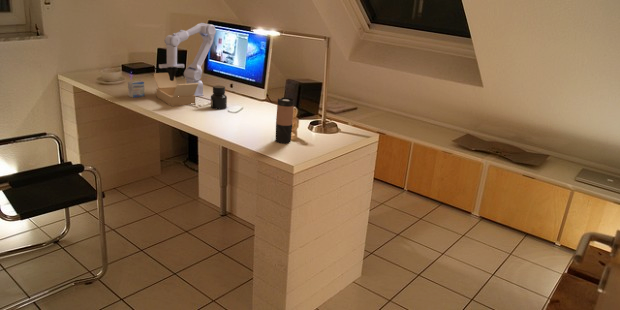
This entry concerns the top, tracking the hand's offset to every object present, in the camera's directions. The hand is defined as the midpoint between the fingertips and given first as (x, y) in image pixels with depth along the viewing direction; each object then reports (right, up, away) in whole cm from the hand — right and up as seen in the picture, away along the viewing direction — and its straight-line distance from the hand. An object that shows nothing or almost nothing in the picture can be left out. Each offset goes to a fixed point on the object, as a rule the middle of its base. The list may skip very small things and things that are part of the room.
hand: (171, 80), depth 280 cm
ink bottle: (+29, -17, -8) cm, 34 cm away
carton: (+3, -12, -2) cm, 12 cm away
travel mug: (+68, -37, -55) cm, 95 cm away
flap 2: (+12, -7, -15) cm, 20 cm away
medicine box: (-20, -10, 0) cm, 23 cm away
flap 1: (-5, +1, +5) cm, 7 cm away
